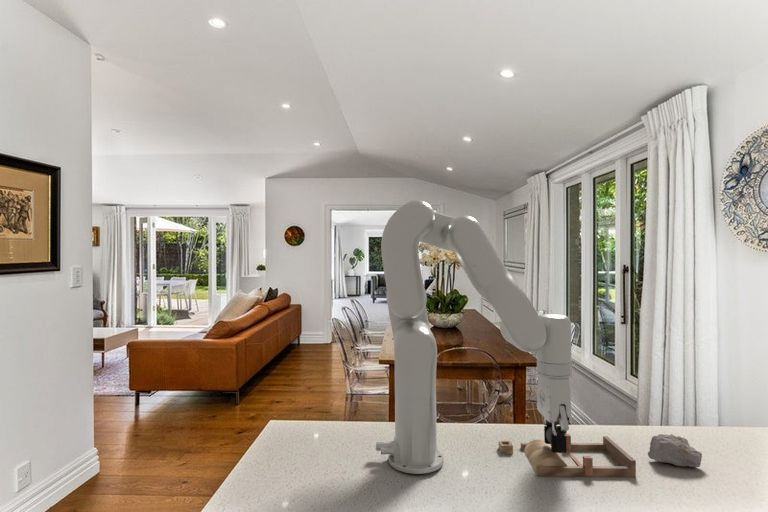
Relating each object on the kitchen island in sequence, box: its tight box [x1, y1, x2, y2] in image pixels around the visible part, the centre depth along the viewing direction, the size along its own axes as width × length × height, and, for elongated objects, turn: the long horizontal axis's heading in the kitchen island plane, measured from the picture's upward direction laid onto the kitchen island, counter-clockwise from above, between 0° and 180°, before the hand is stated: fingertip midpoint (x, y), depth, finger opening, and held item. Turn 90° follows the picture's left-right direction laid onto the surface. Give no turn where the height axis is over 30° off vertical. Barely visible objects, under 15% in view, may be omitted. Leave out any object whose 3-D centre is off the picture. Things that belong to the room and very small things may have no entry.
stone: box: [647, 433, 703, 468], centre depth 101 cm, size 8×10×6 cm
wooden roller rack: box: [520, 433, 637, 478], centre depth 102 cm, size 21×13×9 cm, turn 88°
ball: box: [546, 427, 557, 443], centre depth 102 cm, size 4×4×4 cm
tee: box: [498, 440, 514, 455], centre depth 108 cm, size 3×3×2 cm
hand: (555, 446), depth 102 cm, fingers closed on ball, 3 cm apart
